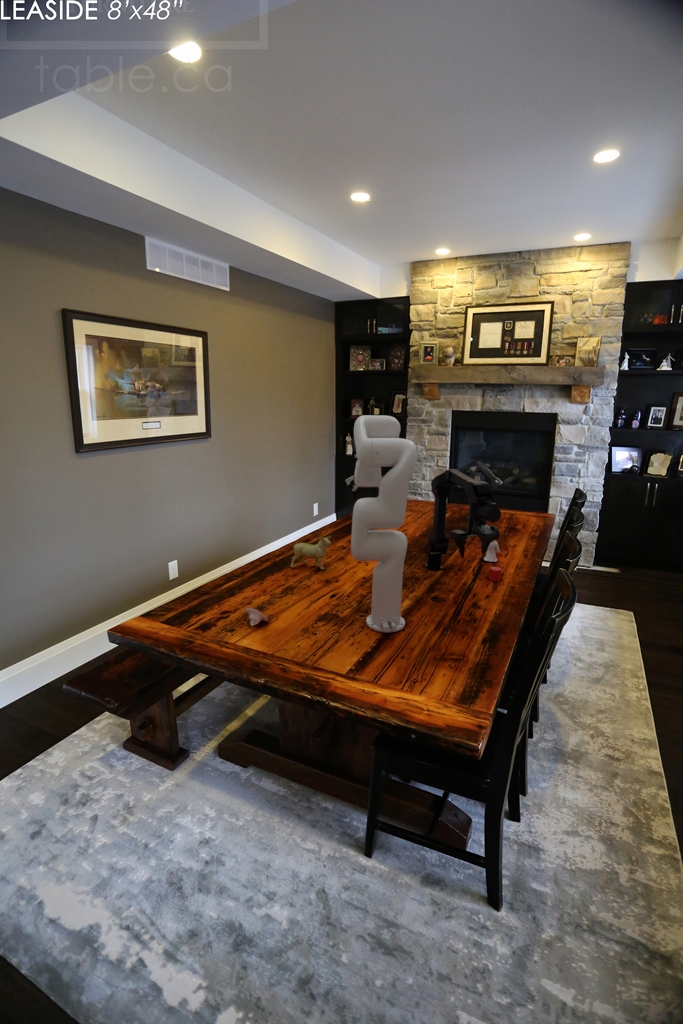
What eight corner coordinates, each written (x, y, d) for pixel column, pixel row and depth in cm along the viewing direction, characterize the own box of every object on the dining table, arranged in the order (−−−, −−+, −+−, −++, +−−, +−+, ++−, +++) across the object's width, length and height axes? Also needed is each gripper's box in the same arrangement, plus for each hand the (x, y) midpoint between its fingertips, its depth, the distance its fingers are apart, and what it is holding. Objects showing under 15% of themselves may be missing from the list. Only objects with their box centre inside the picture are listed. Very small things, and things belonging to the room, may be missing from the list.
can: (489, 576, 205) (490, 566, 204) (500, 578, 204) (501, 567, 203) (489, 580, 201) (490, 569, 200) (500, 582, 200) (501, 571, 199)
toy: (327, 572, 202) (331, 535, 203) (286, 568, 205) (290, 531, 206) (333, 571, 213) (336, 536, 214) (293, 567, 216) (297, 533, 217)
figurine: (481, 562, 222) (483, 536, 219) (482, 556, 230) (484, 531, 227) (499, 564, 220) (501, 538, 217) (499, 558, 228) (501, 533, 225)
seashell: (251, 634, 162) (235, 615, 161) (262, 623, 165) (246, 604, 164) (262, 630, 156) (245, 610, 155) (273, 618, 159) (257, 599, 158)
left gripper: (347, 458, 188) (346, 502, 192) (392, 458, 191) (390, 502, 195) (344, 456, 195) (343, 498, 199) (387, 456, 198) (386, 498, 202)
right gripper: (467, 523, 173) (463, 565, 177) (511, 519, 179) (507, 560, 183) (449, 515, 183) (446, 555, 187) (492, 512, 189) (488, 551, 193)
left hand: (366, 500), depth 197 cm, fingers open, 9 cm apart
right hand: (472, 555), depth 187 cm, fingers open, 9 cm apart
